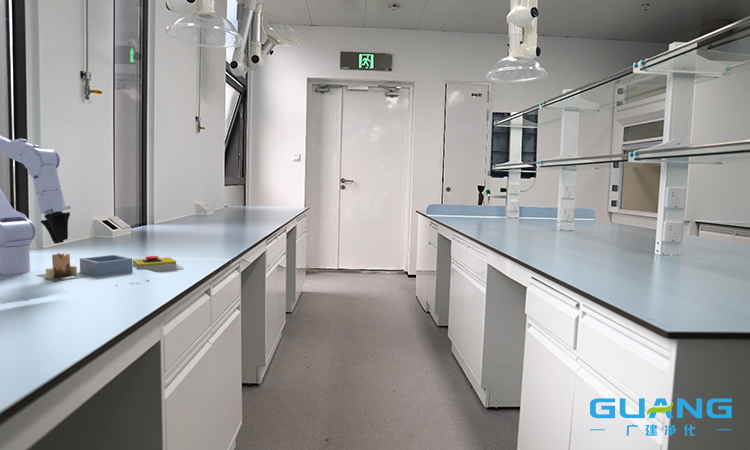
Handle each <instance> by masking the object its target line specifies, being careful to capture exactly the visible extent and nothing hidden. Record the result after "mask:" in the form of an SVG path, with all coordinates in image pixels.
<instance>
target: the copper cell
mask: <svg viewBox="0 0 750 450" xmlns="http://www.w3.org/2000/svg"><path fill="white" fill-rule="evenodd" d="M70 258H71V255H70V253H65V252H58V253H54V254H51V259H52V261H51V263H52V269H53V277H55V278H62V277H69V276H70V266H71V259H70Z"/></svg>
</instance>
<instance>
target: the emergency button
mask: <svg viewBox="0 0 750 450" xmlns="http://www.w3.org/2000/svg"><path fill="white" fill-rule="evenodd" d="M132 265H133V268H136V269H137V270H146V271H148V272H149V271H150V272H152V273H153V272H154V273H155V272H169V271H177V270H178V271H179V270H184V267H182V266H181V265H179V264H178V263H177V261H176V260H175V259H174V258H172V257H170V256H169V257H167V256H166V257H165V256H164V257H160V256H158V255H150V256H149V255H148V256H146V257H144V258H139V259H132Z"/></svg>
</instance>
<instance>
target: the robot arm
mask: <svg viewBox="0 0 750 450" xmlns="http://www.w3.org/2000/svg"><path fill="white" fill-rule="evenodd" d="M0 151H1V152H4V153H5V154H6V156H7V157H8V158H9V159H11V160H13V161H16V162H19V163H21V164H23V166H24V167H25V169H27V170H28V174H29V176H30V177H32V180H33V185H34V189H35V193H36V197H37V202H38V206H39V213H40V214H42V215H44V216H43V217H44V219H43V220H41V221H40V223H41V224H42V225H43V226H44V227H45V229H46V230H47V232H48V234H49V236H50V238H51V240H52V242H53V244H56V245H57V244H61V243H64V241H67V240H68V238H69V237H68V235H69V231H68V230H69V229H68V227H69V218H70V216H71V212H70V211H68V212H64V211H67V210H71V209H72V208H71V207H72V206H71V205H66V204H65V200H64V195H63V191H62V186H61V182H60V178H59V174H58V168H59V165H60V164H61V163H60V162H61V159H60V156H59V153H58V152H57V151H56V150H54V149H52V148H46V149H45V148H42V147H41V146H40V145H38V144H32V143H29V142H28V140H27V139H25V138H18V139H9V138H7V137H5V136H2V134H1V135H0ZM36 236H37V227H36V225H35V224H34V223H33V221H32V220H30V219H29V218H28V217H27V215H26V214H25V213H22V212H19V211H18V210H15V209H14V208H13V206H12V205H11V203H10V202H9V200H8V198H7V197H6V194H5V193H4V192H3V190H2V189H1V188H0V275H8V276H9V275H20V274H25V273H30V271H31V263H30V261H31V260H30V257H31V256H30V245H31V244H32V241H34V239H35V238H36Z"/></svg>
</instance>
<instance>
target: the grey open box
mask: <svg viewBox="0 0 750 450" xmlns="http://www.w3.org/2000/svg"><path fill="white" fill-rule="evenodd" d="M133 268H134V267H133V258H131V257H126V256H122V255H119V254H118V255H117V254H110V255H101V256H91V257H83V258H79V272H80V273H84V274H86V275H89V276H93V277H104V276H111V275H117V274H118V275H119V274H124V273H130V272H131V273H132V272H133Z"/></svg>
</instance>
